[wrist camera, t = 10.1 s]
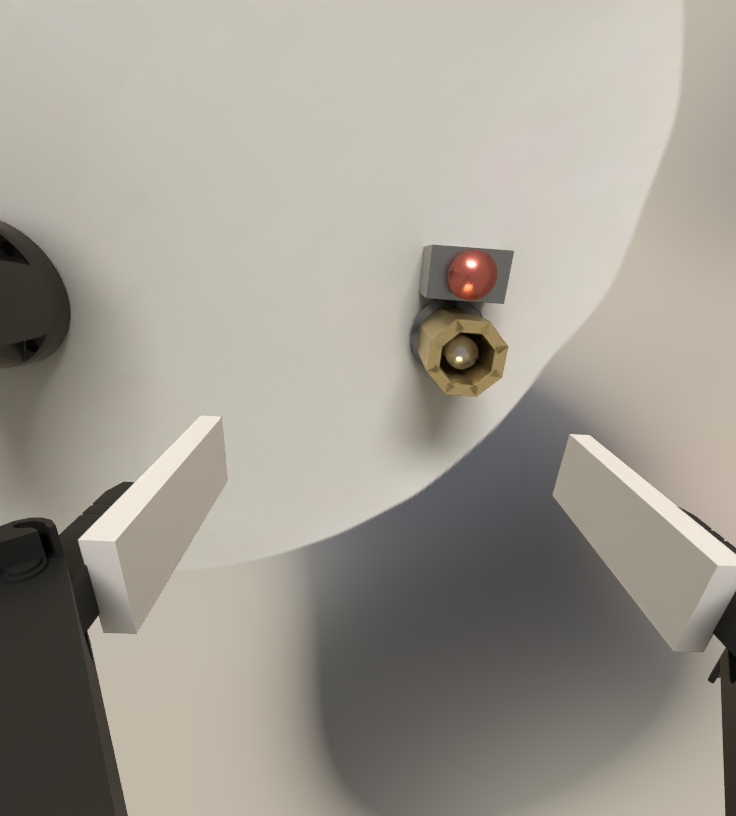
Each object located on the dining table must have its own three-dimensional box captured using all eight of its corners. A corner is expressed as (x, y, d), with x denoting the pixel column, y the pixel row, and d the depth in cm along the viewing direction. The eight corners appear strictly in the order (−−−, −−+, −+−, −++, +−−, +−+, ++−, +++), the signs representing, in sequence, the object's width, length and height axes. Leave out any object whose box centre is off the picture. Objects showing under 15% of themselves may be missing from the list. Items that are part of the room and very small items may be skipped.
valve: (405, 369, 43) (412, 393, 36) (419, 246, 39) (429, 243, 31) (477, 374, 43) (498, 399, 36) (499, 252, 39) (529, 250, 31)
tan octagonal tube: (414, 365, 42) (424, 392, 33) (421, 304, 39) (433, 317, 31) (473, 370, 42) (497, 398, 33) (484, 309, 39) (512, 323, 31)
